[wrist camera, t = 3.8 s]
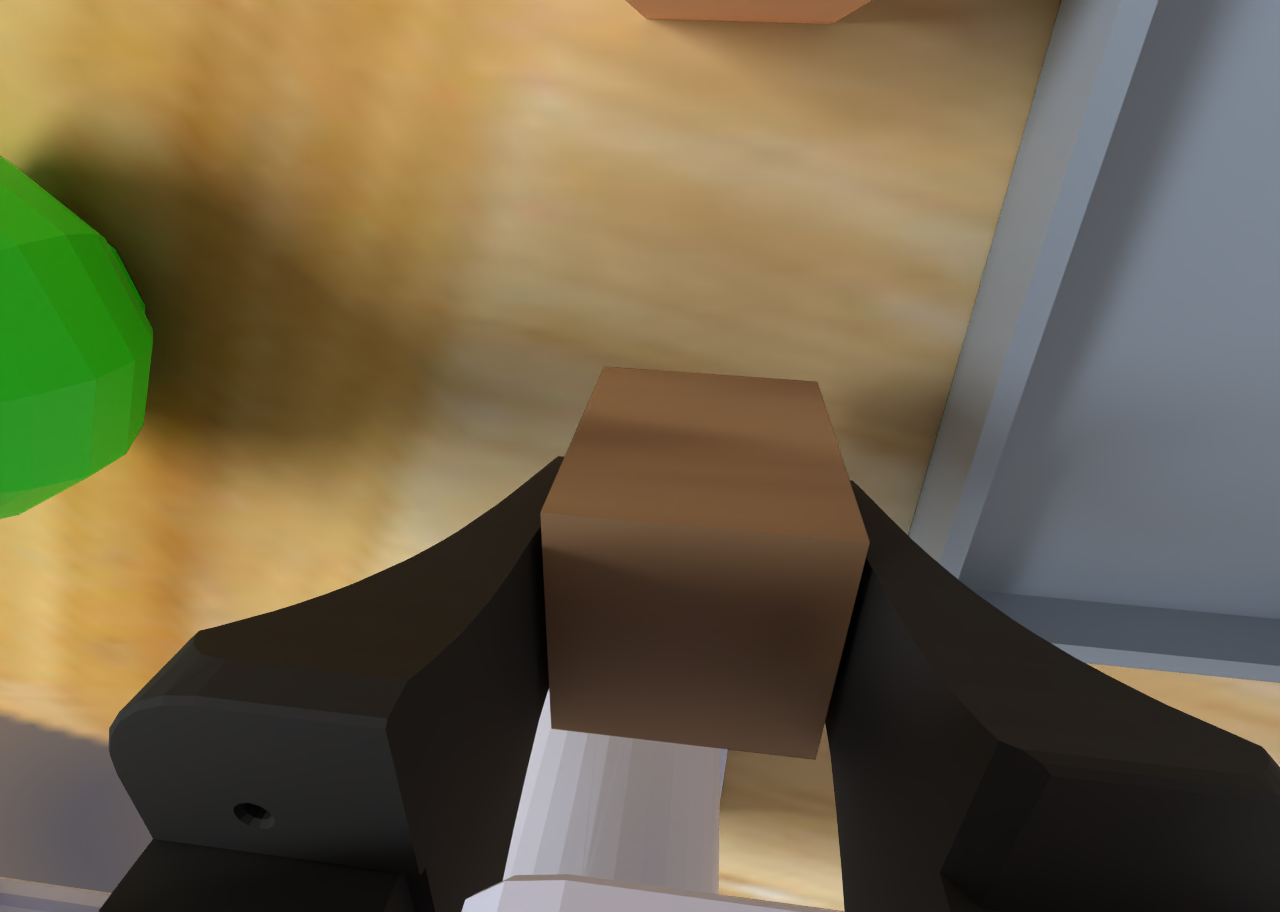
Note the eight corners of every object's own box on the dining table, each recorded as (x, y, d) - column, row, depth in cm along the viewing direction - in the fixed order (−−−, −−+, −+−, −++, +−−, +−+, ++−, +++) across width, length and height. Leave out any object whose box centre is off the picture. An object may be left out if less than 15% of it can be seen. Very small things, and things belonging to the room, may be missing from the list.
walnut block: (786, 554, 14) (815, 759, 10) (603, 537, 14) (551, 728, 10) (816, 381, 12) (870, 542, 8) (604, 366, 12) (539, 512, 8)
